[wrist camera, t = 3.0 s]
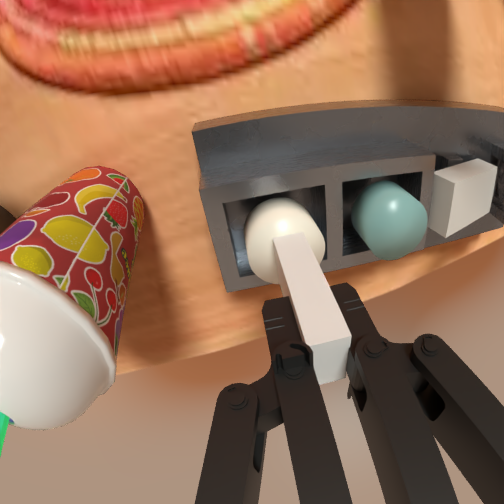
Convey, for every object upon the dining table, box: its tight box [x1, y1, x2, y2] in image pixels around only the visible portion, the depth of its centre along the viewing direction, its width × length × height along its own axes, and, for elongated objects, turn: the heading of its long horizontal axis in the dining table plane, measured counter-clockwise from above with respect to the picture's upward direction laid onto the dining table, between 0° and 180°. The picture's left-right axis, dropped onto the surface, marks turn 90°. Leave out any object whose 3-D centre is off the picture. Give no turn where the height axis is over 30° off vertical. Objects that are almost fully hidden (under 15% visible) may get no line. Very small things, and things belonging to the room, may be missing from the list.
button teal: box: [351, 180, 427, 260], centre depth 16 cm, size 4×4×2 cm
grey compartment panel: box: [192, 100, 504, 293], centre depth 19 cm, size 28×12×7 cm, turn 99°
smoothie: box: [0, 166, 145, 456], centre depth 13 cm, size 8×8×20 cm
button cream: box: [243, 197, 325, 284], centre depth 16 cm, size 4×4×2 cm
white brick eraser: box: [428, 158, 497, 238], centre depth 18 cm, size 7×4×2 cm, turn 100°
